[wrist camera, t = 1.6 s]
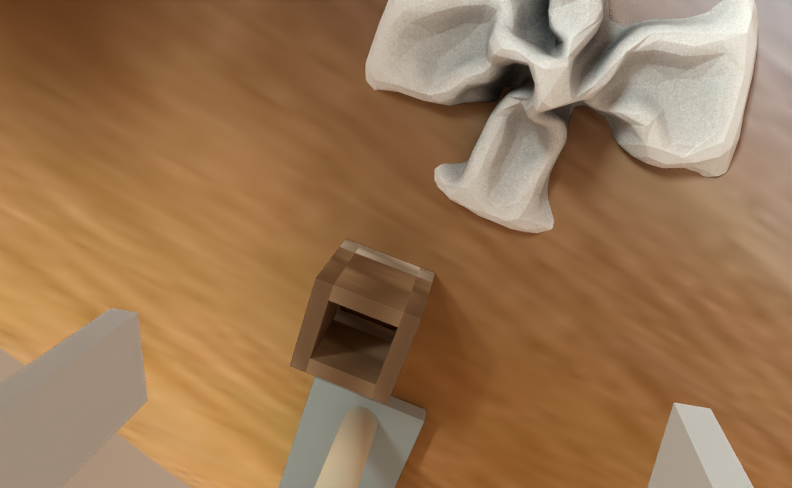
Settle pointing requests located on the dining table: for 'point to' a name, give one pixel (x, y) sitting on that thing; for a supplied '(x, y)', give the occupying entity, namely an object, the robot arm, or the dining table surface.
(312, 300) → the brown open cube
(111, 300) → the dining table surface
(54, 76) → the dining table surface
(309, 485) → the pin stand
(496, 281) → the dining table surface
